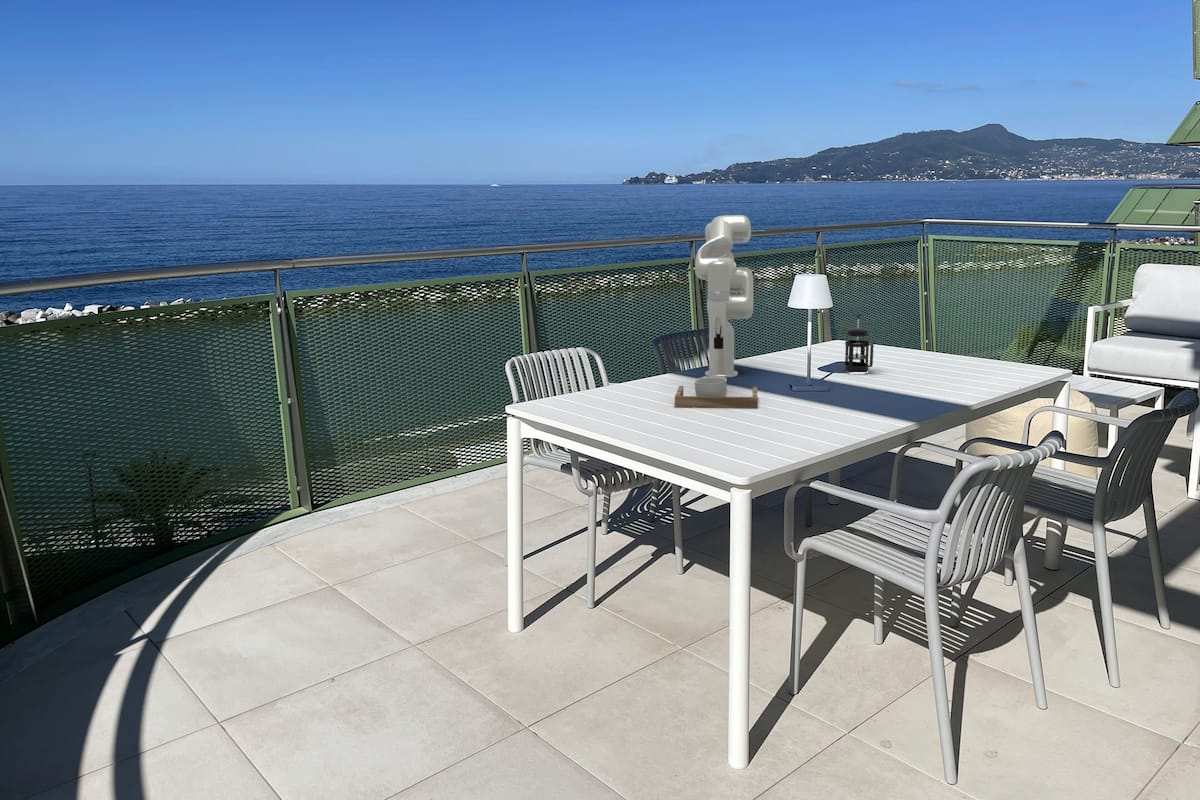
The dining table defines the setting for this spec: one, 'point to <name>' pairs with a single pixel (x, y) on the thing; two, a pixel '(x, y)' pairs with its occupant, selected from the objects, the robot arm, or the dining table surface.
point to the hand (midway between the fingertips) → (718, 348)
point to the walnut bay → (715, 401)
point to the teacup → (711, 386)
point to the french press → (857, 343)
